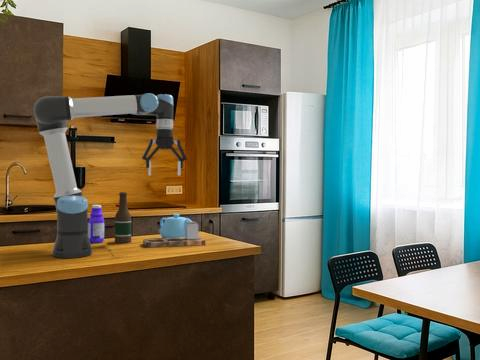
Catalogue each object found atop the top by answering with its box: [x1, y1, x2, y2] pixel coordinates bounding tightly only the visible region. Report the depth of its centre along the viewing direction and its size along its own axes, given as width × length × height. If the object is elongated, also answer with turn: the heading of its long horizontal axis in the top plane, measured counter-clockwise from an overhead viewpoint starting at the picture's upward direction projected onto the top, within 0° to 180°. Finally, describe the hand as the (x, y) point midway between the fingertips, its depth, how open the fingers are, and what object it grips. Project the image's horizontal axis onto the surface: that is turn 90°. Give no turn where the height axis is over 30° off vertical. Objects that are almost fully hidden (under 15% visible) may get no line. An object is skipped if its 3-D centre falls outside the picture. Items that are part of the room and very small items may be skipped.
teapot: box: [158, 213, 193, 239], centre depth 238 cm, size 20×20×13 cm
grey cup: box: [185, 221, 199, 240], centre depth 218 cm, size 5×5×10 cm
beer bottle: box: [114, 191, 132, 245], centre depth 219 cm, size 8×8×24 cm
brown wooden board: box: [142, 236, 206, 249], centre depth 215 cm, size 26×10×3 cm, turn 110°
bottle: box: [88, 204, 105, 244], centre depth 226 cm, size 7×6×17 cm
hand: (164, 175), depth 221 cm, fingers open, 13 cm apart
